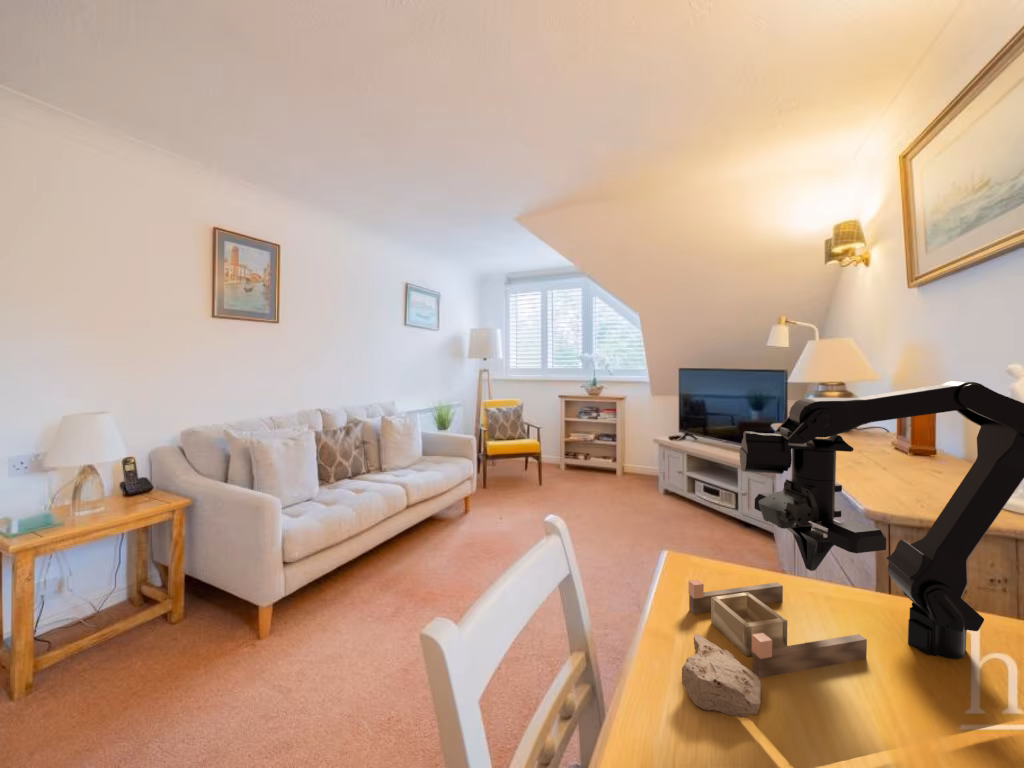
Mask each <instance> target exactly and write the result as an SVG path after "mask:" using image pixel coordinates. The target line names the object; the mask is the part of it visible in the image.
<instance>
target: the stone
mask: <svg viewBox="0 0 1024 768" xmlns="http://www.w3.org/2000/svg"><path fill="white" fill-rule="evenodd" d="M693 646H694V650H695V651H694V654H692V655H691V656H689V657H687V658H686V660H685V663H684V664H683V665H682V667H681V684H682V685H683V688H684V689H685V691H686V693H687V695H689V697H690V698H691V700H692V702H693V703H694V704H695V705H696V706H697V707H698V708H701V709H703V710H704V711H708V712H709V711H715V712H716V711H717V712H721V713H722V714H726V715H730V716H731V717H737V718H741V717H744V718H749V716H748V715H753V716H755V715H757V714H758V713H759V711H760V707H761V703H762V702H761V694H762V681H761V680H760V678H758V676H757V675H756V674H754V673H753V671H752V670H750V669H749V668H748V667H746V666H745V665H743V664H742V663H741V662H740V661H738V659H736V657H735V656H734V654H733V653H732V652H730V651H729V650H727V649H722V648H721V647H720V646H717V644H715V642H711V641H710V640H708V639H706V638H705V637H704V636H702V634H701V635H700V634H699V633H697V632H696V633H694V634H693Z"/></svg>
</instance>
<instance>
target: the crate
mask: <svg viewBox="0 0 1024 768" xmlns="http://www.w3.org/2000/svg"><path fill="white" fill-rule="evenodd" d="M710 622H711V625H713V626H714V628H716V630H718V631H719V633H721V634H722V635H723V636H724V637H725V638H726V639H727V640H729V641H730V643H732V644H733V645H734V646H735V647H736V648H737V649H738V650H739V651H740V652H741V653H742V654H743V655H745V657H751V656H752V657H753V652H752V634H758V633H764V634H765V635H766V636H768V637H769V638H770V639H771V640H772V649H773V648H779V647H785V646H788V620H787V619H785V617H783V616H782V615H780V614H779V613H778V612H776V611H775V610H773V608H771V607H769V606H768V605H767V604H764V603H762V602H761V601H760V600H758V599H757V598H755V597H754V596H753V595H751V594H750V593H749V592H745V593H737V594H730V595H723V596H716V597H711V612H710Z"/></svg>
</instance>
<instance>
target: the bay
mask: <svg viewBox="0 0 1024 768" xmlns="http://www.w3.org/2000/svg"><path fill="white" fill-rule="evenodd" d="M704 586H705V585H704V583H703V582H702V581H701V580H699V579H691V580H688V596H689V597H688V598H689V599H688V600H689V601H688V602H689V603H688V604H689V605H688V606H689V608H688V609H689V612H690V613H691V614H692V615H699V614H705V613H706V614H707V613H711V597H716V596H723V595H730V594H737V593H745V592H749V593H750V594H751V595H753V596H754V597H755V598H757V599H758V600H760V601H761V602H762V603H764V604H765V605H768V604H776V603H782V602H783V598H784V597H783V596H784V595H783V593H784V592H783V591H784V590H783V589H784V588H783V587H784V586H783V584H780V583H779V582H770V583H762V584H755V585H746V586H741V587H733V588H725V589H720V590H719V589H718V590H711V591H710V590H709V591H705V592H704ZM867 643H868V638H865V637H864V636H862V635H861V634H859V633H858V634H857V633H856V634H852V635H851V634H850V635H845V636H839V637H833V638H827V639H823V640H821V639H820V640H815V641H809V642H803V643H798V644H791V645H787V646H785V647H779V648H773V649H772V640H771V639H770V638H769V637H768V636H766V635H765V634H764V633H758V634H752V652H753V655H752V672H753V673H754V674H756V675H757V676H758V678H759V679H763V678H768V677H774V676H779V675H784V674H790V673H796V672H801V671H807V670H813V669H818V668H824V667H829V666H834V665H840V664H845V663H852V662H855V661H856V662H857V661H861V660H866V659H867V649H868V647H867V645H868V644H867Z"/></svg>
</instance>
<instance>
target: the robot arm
mask: <svg viewBox="0 0 1024 768" xmlns="http://www.w3.org/2000/svg"><path fill="white" fill-rule="evenodd" d="M955 411H956V412H957V413H958V414H960V415H961V416H962V417H964V418H965V419H966V420H968V421H970V422H971V423H974V424H976V425H977V426H979V427H980V428H979V430H978V433H977V435H976V449H977V450H976V451H977V456H976V459H975V461H974V463H973V464H972V465H971V467H970V468H969V470H968V472H967V473H966V474H965V476H964V478H963V479H962V481H960V482H959V483H960V484H959V485H958V486H957V487H956V489H955V490H954V492H953V494H952V495H951V497H950V498H949V500H948V502H947V503H946V505H945V506H944V508H943V509H942V510H941V512H940V514H939V515H938V516H937V518H936V520H935V521H934V523H933V524H932V525H931V527H930V529H929V530H928V531H927V533H926V534H925V536H924V537H923V538H921V539H919V540H917V541H914V542H912V543H909V542H907V540H905V539H899V541H898V542H897V544H896V547H895V549H894V551H893V552H892V553H891V554H890V555H888V556H886V558H885V559H886V560H887V561H888V562H889V563H888V565H887V572H888V575H889V577H890V580H892V582H893V583H894V584H895V585H896V586H897V587H898V588H900V590H901V591H902V594H903V595H904V596H905V597H907V598H908V599H909V600H910V601H911V607H909V616H908V617H909V619H908V623H907V624H908V627H907V645H909V646H910V647H912V648H914V649H916V650H917V651H919V652H921V653H922V654H924V655H926V656H932V657H940V658H944V659H949V660H961V659H964V658H965V657H966V656H965V655H966V651H967V631H971V632H979V631H980V629H981V627H982V625H983V624H984V621H985V618H984V617H983V616H982V615H980V613H978V612H977V611H976V610H975V609H974V608H973V607H971V606H970V605H969V604H968V603H967V602H966V601H965V600H964V599H963V595H964V594H965V591H966V589H967V585H968V565H967V564H968V559H969V557H970V556H971V555H972V553H973V552H974V551H975V549H976V547H977V546H978V545H979V544H980V542H981V540H982V539H983V537H985V535H986V533H987V532H988V530H989V529H990V528H991V526H992V524H994V522H995V520H996V519H997V517H998V516H999V514H1000V513H1001V511H1002V510H1003V509H1004V507H1005V506H1006V504H1007V503H1008V501H1009V500H1010V499H1011V497H1012V496H1013V495H1014V494H1015V492H1016V490H1017V489H1018V487H1019V486H1020V484H1021V483H1022V482H1023V480H1024V402H1022V401H1020V400H1017V399H1014V398H1012V397H1009V396H1006V395H1003V394H1001V393H998V392H997V391H994V390H992V389H990V388H989V387H987V386H985V385H983V384H982V383H978V382H976V381H964V380H951V381H947V382H945V383H944V382H943V383H942V384H935V385H930V386H929V385H927V386H922V387H917V388H916V387H915V388H909V389H904V390H903V389H902V390H897V391H891V392H885V393H878V394H871V395H865V396H859V397H804V398H801V399H798V400H797V401H795V402H794V404H793V405H792V406H791V407H790V409H789V413H788V414H789V416H788V417H786V419H785V420H784V421H783V423H781V424H780V425H779V427H777V429H775V431H774V433H766V432H765V433H764V432H756V431H748V430H747V431H746V430H744V431H743V437H742V440H741V443H740V444H741V445H740V447H739V462H740V463H739V464H740V468H741V471H742V472H743V473H757V474H771V475H773V474H774V475H783V474H784V472H788V471H789V469H790V468H791V478H786V479H785V481H784V483H783V489H782V490H780V491H775V492H765V493H763V492H762V493H758V494H757V495H756V497H755V498H754V509H755V510H756V511H759V512H761V515H762V519H763V520H764V521H765V522H767V523H768V522H769V523H771V524H773V525H776V526H777V528H780V529H783V530H784V529H787V530H788V531H789V532H790V533H791V534H792V535H793V538H794V539H795V542H796V544H797V547H798V549H799V553H800V556H801V558H802V562H803V563H804V567H805V568H806V570H808V571H810V572H813V571H814V572H815V571H817V569H818V568H819V566H820V565H821V563H823V562H822V561H823V560H824V559H825V557H826V556H827V555H828V553H829V552H830V550H832V548H833V547H834V546H835V547H837V548H840V549H842V550H844V551H846V552H848V553H852V554H853V553H854V554H863V553H871V552H879V551H887V536H886V534H885V533H884V532H883V531H882V530H881V529H880V528H877V527H875V526H872V525H869V524H866V523H863V522H861V521H858V520H854V521H853V520H852V521H845V522H841V521H838V520H836V519H835V518H842V510H841V509H837V508H835V507H836V493H842V492H843V485H842V484H839V483H836V478H837V477H836V476H837V475H836V472H837V468H836V467H837V452H847V453H848V452H849V453H850V452H853V451H854V447H852V445H850V444H848V442H846V441H845V440H844V439H843V437H842V436H841V435H840V434H843V433H847V432H850V431H853V430H855V429H857V428H858V427H860V426H864V425H867V424H871V423H875V422H884V421H891V420H898V419H906V418H911V417H917V416H918V417H919V416H925V415H926V416H927V415H933V414H940V413H941V414H942V413H947V412H955Z"/></svg>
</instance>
